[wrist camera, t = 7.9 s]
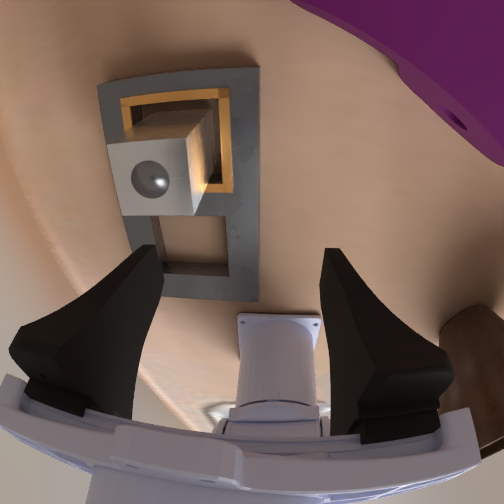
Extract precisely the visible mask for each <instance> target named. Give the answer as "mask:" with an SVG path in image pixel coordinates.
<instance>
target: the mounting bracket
mask: <svg viewBox="0 0 504 504" xmlns="http://www.w3.org/2000/svg"><path fill="white" fill-rule="evenodd" d="M290 1H292V2H293V3H295V4H296V5H298V6H299V7H301V8H303V9H305V10H307V11H309V12H311V13H313V14H315V15H317V16H319V17H321V18H323V19H325V20H327V21H329V22H331V23H333V24H335V25H336V26H338V27H340V28H342V29H344V30H345V31H347V32H349V33H351V34H352V35H354V36H356V37H358V38H359V39H361V40H363V41H364V42H366V43H368V44H369V45H371V46H372V47H374V48H375V49H377V50H379V51H380V52H382V53H383V54H385V55H386V56H387V57H389V58H390V59H391V60H393V61H394V62H395V63H396V64H397V65H398V74H399V76H400V78H401V79H402V80H403V82H404V83H405V84H406V85H407V86H408V87H409V88H410V89H411V90H412V91H413V92H414V93H415V94H416V95H417V96H418V97H420V98H421V99H422V100H423V101H424V102H425V103H426V104H427V105H428V106H429V107H430V108H431V109H432V110H433V111H434V112H435V113H436V114H437V115H439V116H440V117H441V118H442V119H443V120H444V121H445V122H446V123H447V124H449V125H450V126H451V127H452V128H453V129H454V130H455V131H456V132H458V133H459V134H460V135H461V136H462V137H463V138H464V139H466V140H467V141H468V142H469V143H470V144H471V145H473V146H474V147H475V148H476V149H477V150H479V151H480V152H481V153H482V154H483V155H485V156H486V157H487V158H489V159H490V160H491V161H493V162H494V163H496V164H498V165H500V166H503V167H504V0H290Z"/></svg>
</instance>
